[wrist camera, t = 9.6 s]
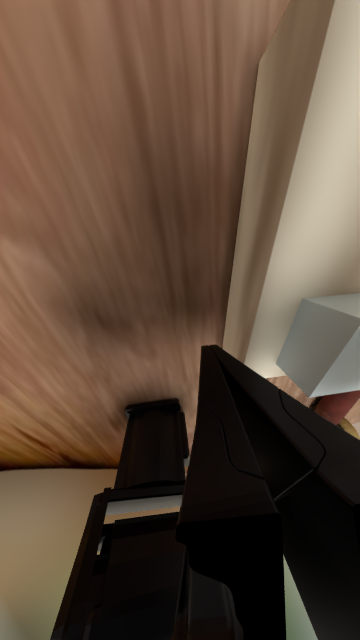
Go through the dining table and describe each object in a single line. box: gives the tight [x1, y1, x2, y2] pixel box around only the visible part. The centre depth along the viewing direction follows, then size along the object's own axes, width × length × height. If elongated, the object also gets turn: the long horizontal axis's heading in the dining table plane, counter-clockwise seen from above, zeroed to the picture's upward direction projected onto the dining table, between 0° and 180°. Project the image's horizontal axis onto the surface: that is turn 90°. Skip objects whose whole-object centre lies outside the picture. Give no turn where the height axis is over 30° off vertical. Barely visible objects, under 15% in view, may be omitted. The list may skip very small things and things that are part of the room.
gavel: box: [315, 390, 360, 440], centre depth 18 cm, size 21×5×10 cm
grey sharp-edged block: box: [276, 293, 360, 398], centre depth 7 cm, size 5×5×2 cm
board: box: [222, 0, 360, 378], centre depth 8 cm, size 10×16×4 cm, turn 3°
